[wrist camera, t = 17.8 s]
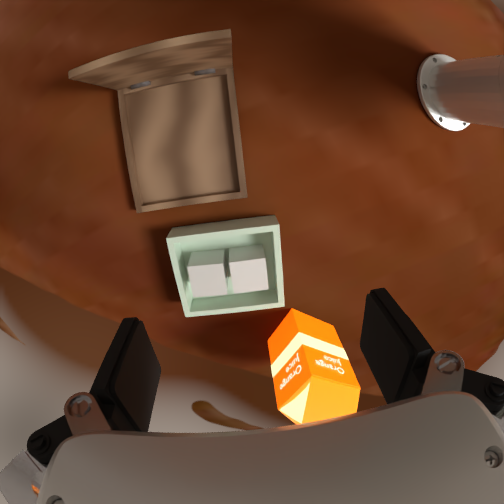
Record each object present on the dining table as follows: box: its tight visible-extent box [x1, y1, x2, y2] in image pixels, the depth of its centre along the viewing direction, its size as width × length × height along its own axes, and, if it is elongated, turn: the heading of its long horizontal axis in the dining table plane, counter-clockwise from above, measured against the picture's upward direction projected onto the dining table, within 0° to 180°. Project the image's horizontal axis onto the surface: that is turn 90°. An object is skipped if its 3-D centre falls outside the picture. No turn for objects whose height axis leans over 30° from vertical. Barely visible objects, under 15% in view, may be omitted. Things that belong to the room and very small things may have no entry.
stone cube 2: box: [187, 249, 228, 297], centre depth 39 cm, size 4×4×4 cm
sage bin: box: [166, 215, 284, 317], centre depth 39 cm, size 14×12×4 cm
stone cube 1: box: [229, 244, 269, 294], centre depth 39 cm, size 4×4×4 cm
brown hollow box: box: [68, 29, 247, 213], centre depth 28 cm, size 15×17×14 cm
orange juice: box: [268, 309, 360, 424], centre depth 38 cm, size 8×9×20 cm
